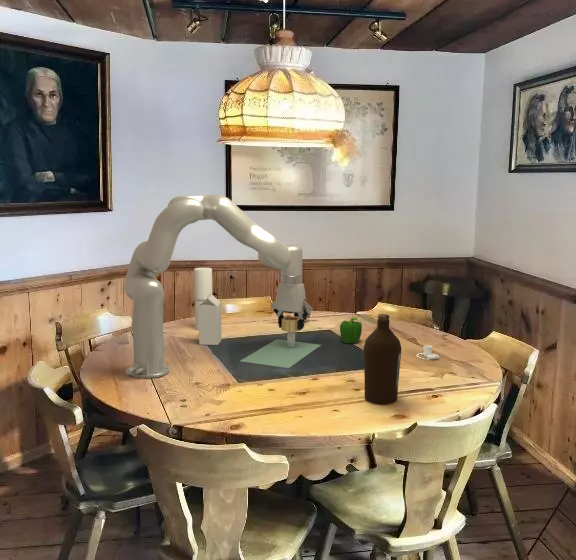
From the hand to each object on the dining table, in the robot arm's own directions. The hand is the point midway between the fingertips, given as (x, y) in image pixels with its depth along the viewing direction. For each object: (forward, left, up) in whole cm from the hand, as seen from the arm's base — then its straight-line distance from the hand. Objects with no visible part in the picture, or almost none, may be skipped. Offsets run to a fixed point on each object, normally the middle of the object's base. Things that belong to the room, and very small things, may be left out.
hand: (291, 327), depth 231 cm
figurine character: (+37, +14, -9) cm, 41 cm away
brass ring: (0, 0, -1) cm, 1 cm away
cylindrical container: (+14, +45, -9) cm, 48 cm away
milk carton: (-3, +32, -9) cm, 33 cm away
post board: (-8, 0, -9) cm, 12 cm away
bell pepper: (+20, -16, -9) cm, 27 cm away
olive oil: (-34, -43, -9) cm, 56 cm away
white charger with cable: (+11, -46, -9) cm, 48 cm away
